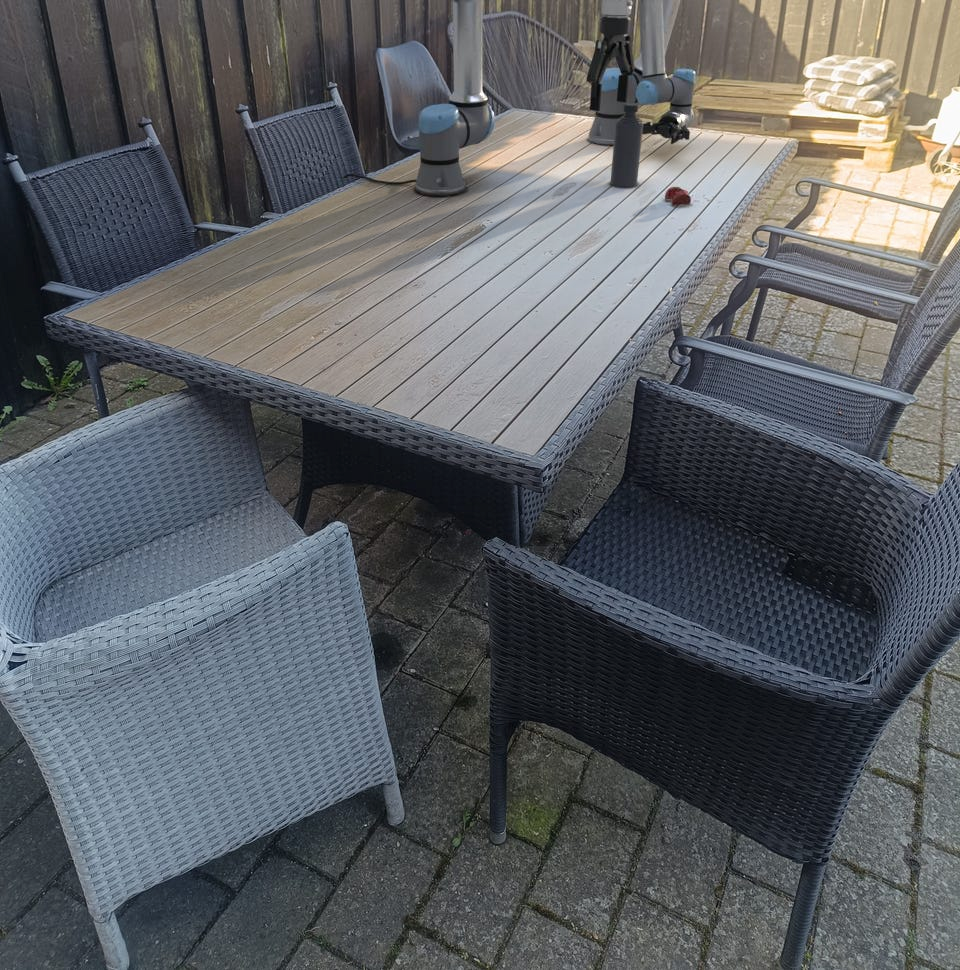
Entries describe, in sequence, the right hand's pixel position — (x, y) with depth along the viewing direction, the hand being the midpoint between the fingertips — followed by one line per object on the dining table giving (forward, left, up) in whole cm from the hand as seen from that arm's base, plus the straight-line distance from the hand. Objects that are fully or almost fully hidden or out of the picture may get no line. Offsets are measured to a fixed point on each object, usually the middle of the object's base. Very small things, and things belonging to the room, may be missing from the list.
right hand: (651, 137), depth 271 cm
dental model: (+35, +4, -10) cm, 36 cm away
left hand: (+43, -19, +18) cm, 51 cm away
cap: (+17, -10, +13) cm, 23 cm away
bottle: (+17, -10, -10) cm, 22 cm away
